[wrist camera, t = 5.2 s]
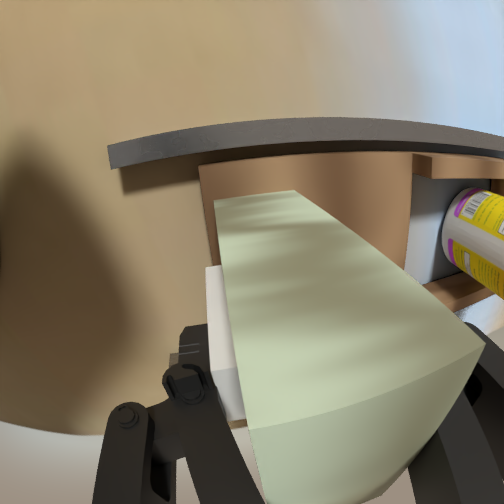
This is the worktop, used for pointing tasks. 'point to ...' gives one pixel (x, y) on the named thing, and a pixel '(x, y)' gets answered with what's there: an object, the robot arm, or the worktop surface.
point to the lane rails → (290, 139)
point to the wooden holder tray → (338, 315)
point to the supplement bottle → (477, 236)
